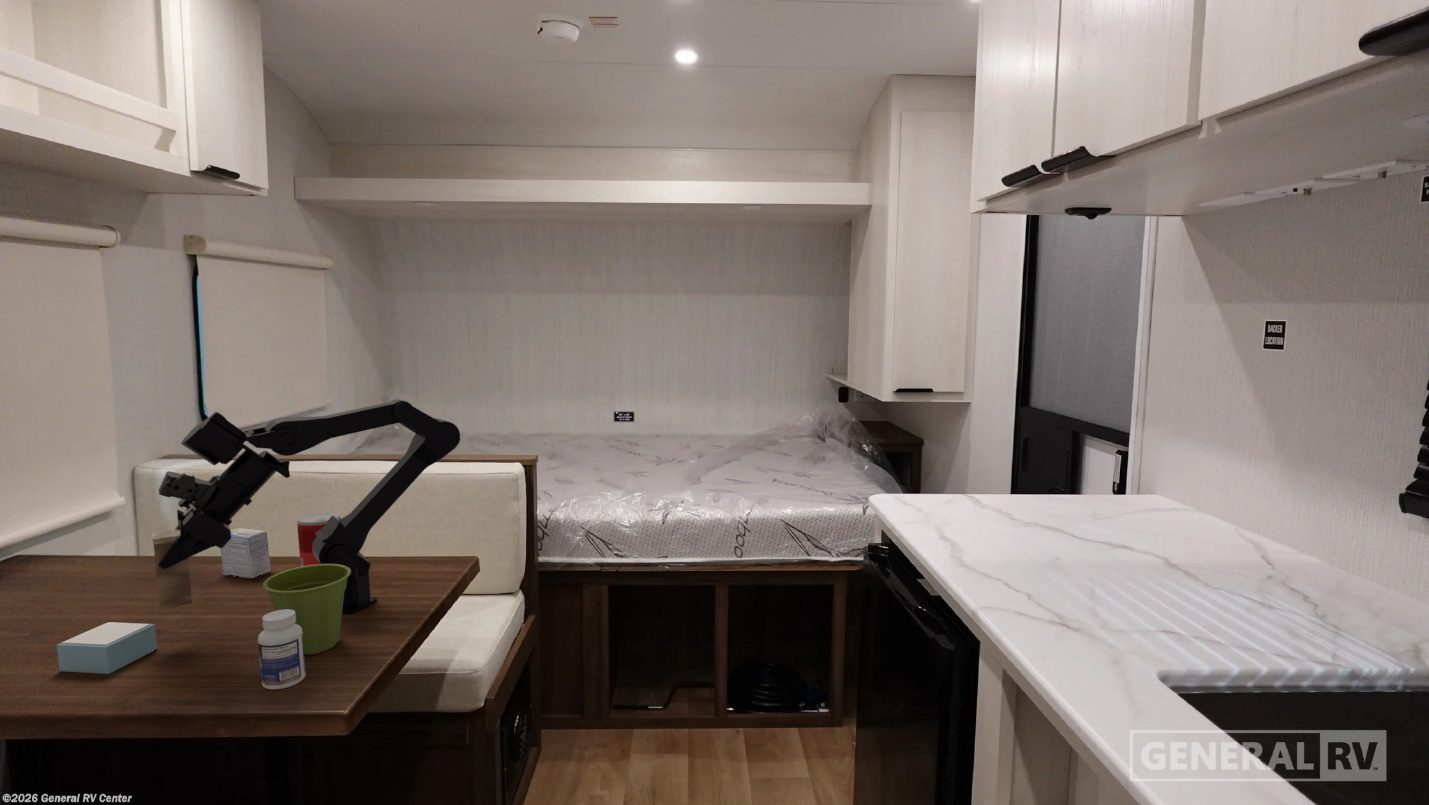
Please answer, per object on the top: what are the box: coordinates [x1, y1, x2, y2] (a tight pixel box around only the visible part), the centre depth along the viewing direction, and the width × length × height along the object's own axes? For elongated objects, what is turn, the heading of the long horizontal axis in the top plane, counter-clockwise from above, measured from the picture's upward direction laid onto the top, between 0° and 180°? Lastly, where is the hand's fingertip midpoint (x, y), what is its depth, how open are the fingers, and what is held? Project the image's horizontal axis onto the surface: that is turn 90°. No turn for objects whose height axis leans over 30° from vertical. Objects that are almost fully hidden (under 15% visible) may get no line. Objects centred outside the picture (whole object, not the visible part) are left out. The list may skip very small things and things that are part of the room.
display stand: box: [56, 621, 158, 675], centre depth 110 cm, size 8×8×4 cm
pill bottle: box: [257, 609, 307, 690], centre depth 103 cm, size 5×5×10 cm
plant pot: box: [262, 564, 351, 656], centre depth 113 cm, size 12×12×11 cm
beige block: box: [151, 529, 193, 611], centre depth 114 cm, size 4×4×11 cm
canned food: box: [296, 512, 342, 567], centre depth 149 cm, size 8×8×11 cm
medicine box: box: [219, 527, 271, 579], centre depth 147 cm, size 8×4×9 cm, turn 71°
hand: (160, 563), depth 113 cm, fingers closed on beige block, 4 cm apart
